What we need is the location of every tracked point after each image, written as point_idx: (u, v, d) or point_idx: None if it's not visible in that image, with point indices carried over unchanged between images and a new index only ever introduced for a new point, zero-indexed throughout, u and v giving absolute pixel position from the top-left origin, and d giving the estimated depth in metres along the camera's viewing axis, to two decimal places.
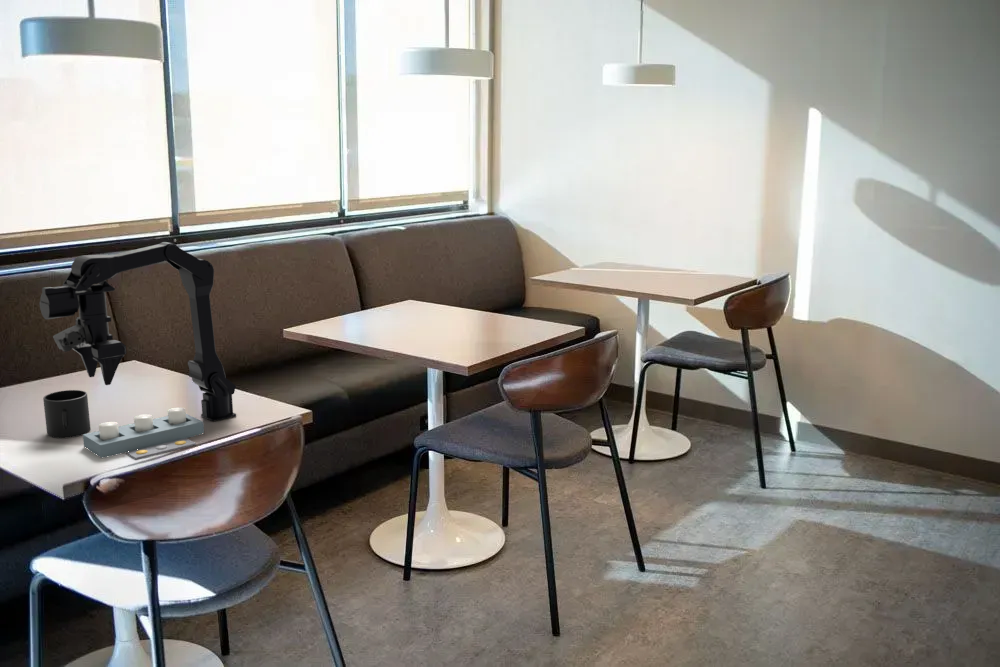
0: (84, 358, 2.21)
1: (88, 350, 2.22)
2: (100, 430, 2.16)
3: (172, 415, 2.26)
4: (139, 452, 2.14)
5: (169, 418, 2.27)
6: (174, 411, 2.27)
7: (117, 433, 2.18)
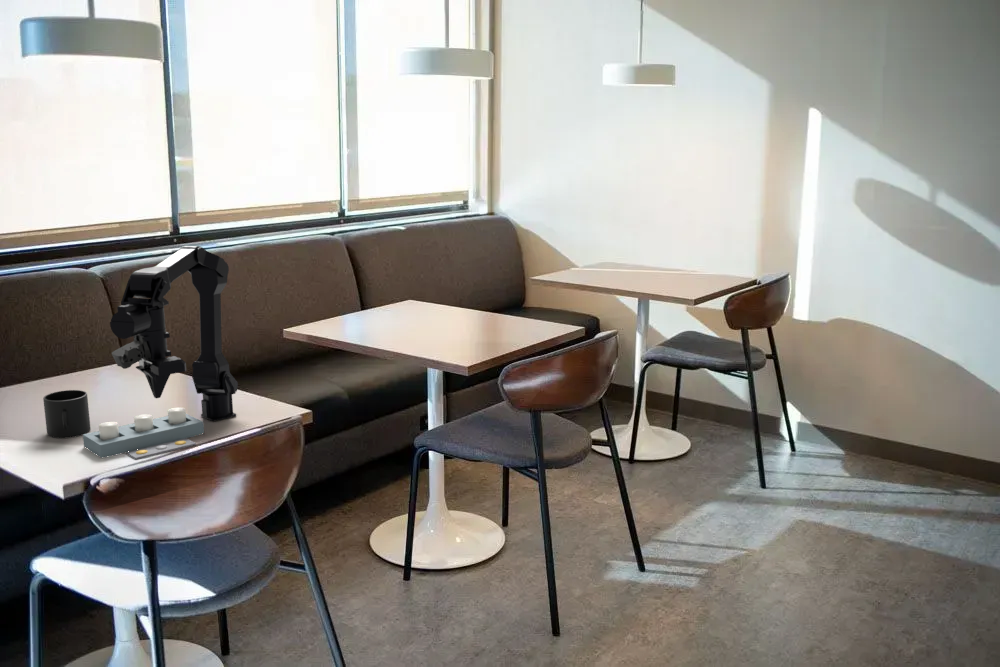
0: (149, 378, 2.14)
1: None
2: (100, 430, 2.16)
3: (172, 415, 2.26)
4: (139, 452, 2.14)
5: (169, 418, 2.27)
6: (174, 411, 2.27)
7: (117, 433, 2.18)
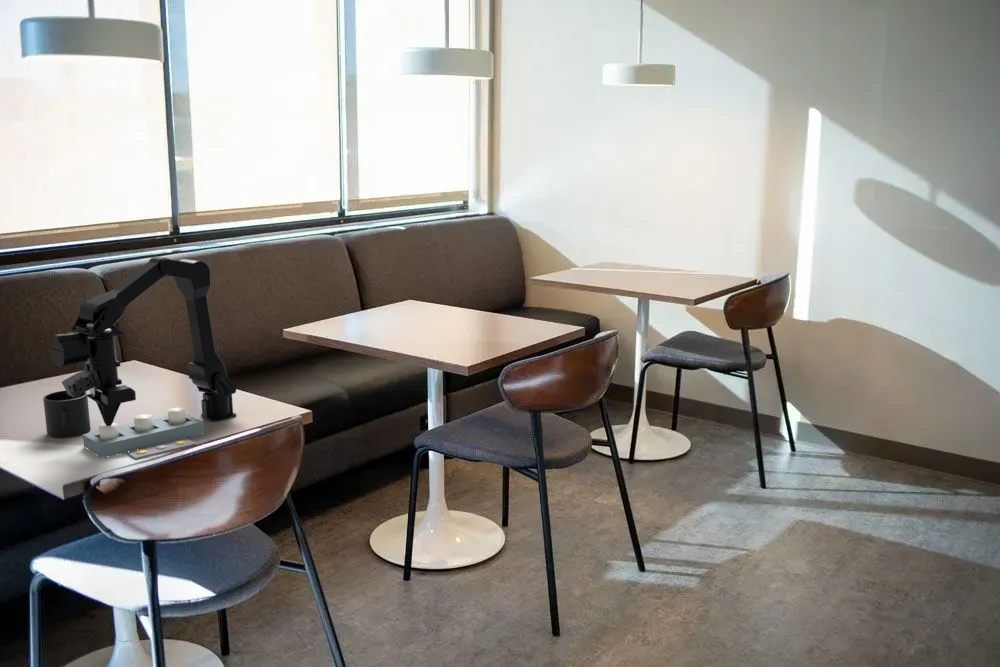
0: (101, 406, 2.16)
1: None
2: (100, 431, 2.16)
3: (172, 415, 2.26)
4: (139, 452, 2.14)
5: (169, 418, 2.27)
6: (174, 411, 2.27)
7: (117, 434, 2.18)
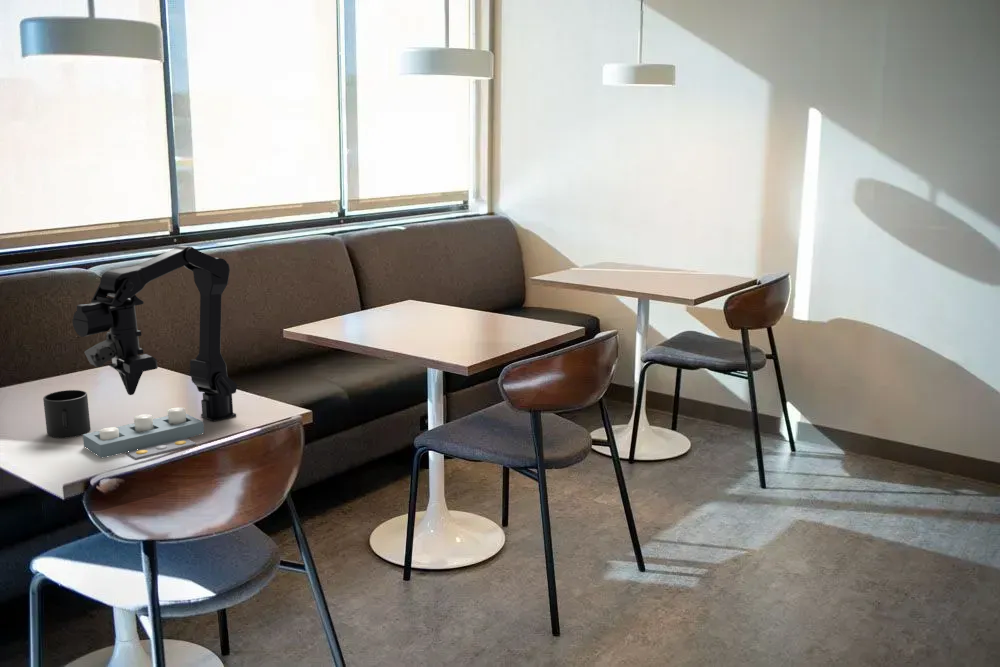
0: (123, 376, 2.19)
1: None
2: (101, 436, 2.16)
3: (172, 415, 2.26)
4: (139, 452, 2.14)
5: (169, 418, 2.27)
6: (174, 411, 2.27)
7: None
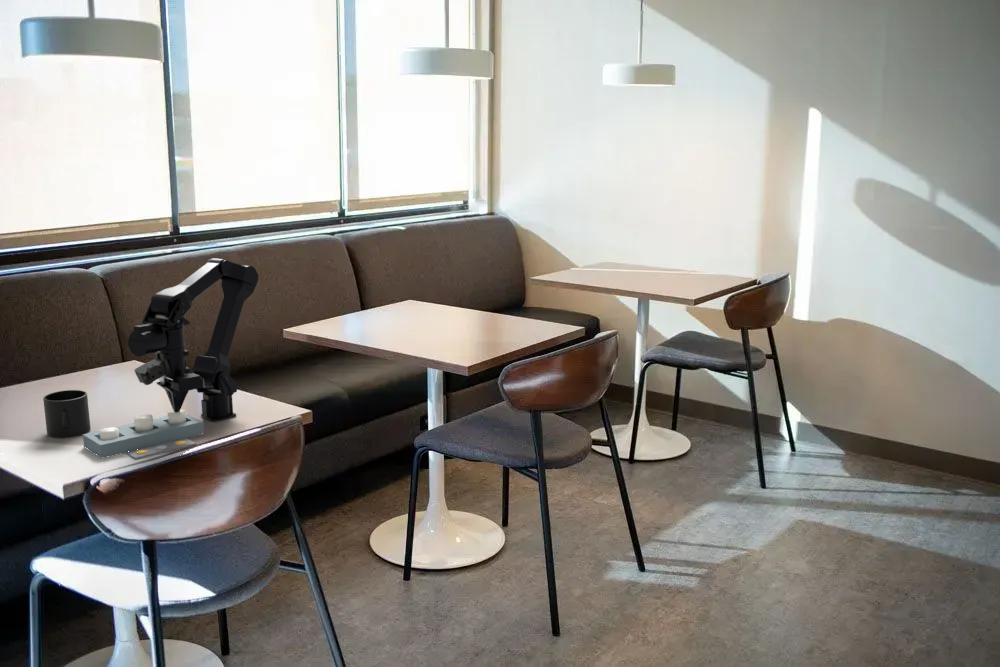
0: (169, 393, 2.27)
1: None
2: (101, 436, 2.16)
3: (172, 417, 2.27)
4: (139, 452, 2.14)
5: (169, 420, 2.27)
6: (174, 413, 2.27)
7: None
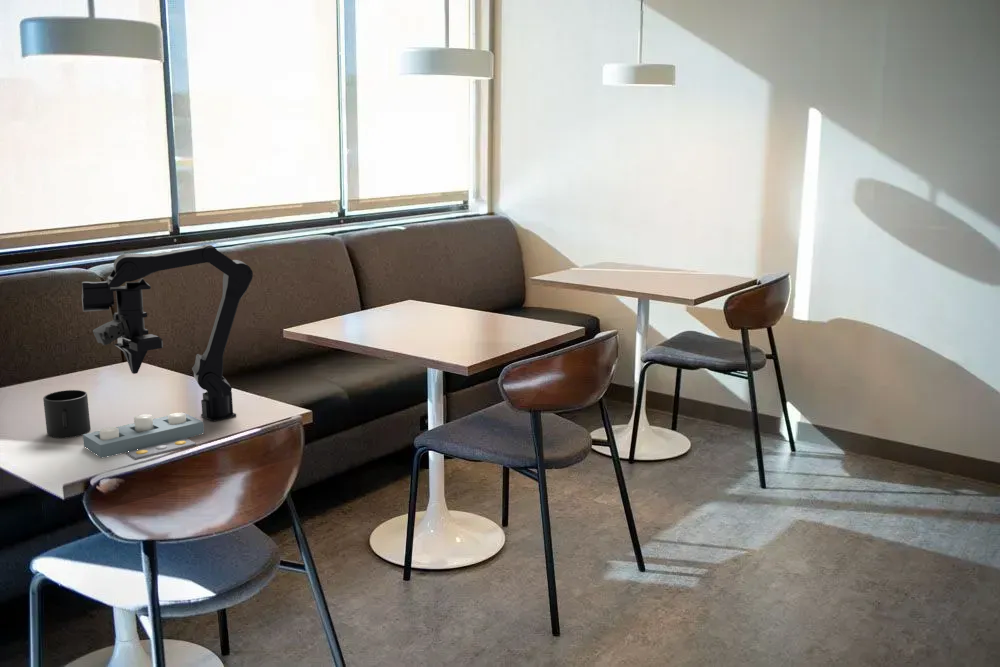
0: (128, 355, 2.30)
1: None
2: (101, 436, 2.16)
3: (172, 420, 2.27)
4: (139, 452, 2.14)
5: (169, 423, 2.27)
6: (174, 416, 2.27)
7: None
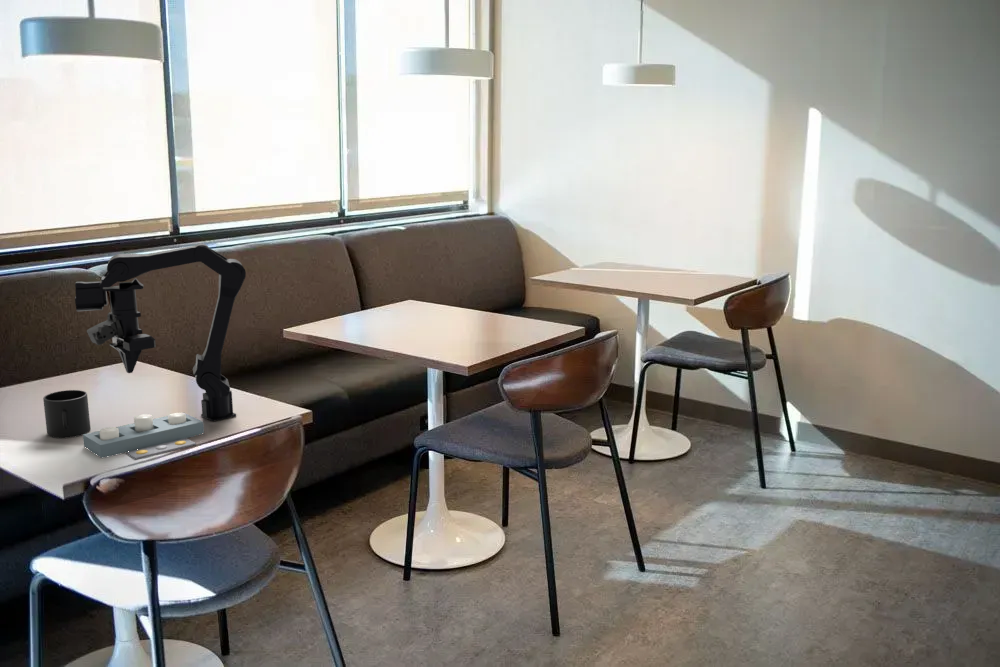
0: (122, 354, 2.31)
1: None
2: (101, 436, 2.16)
3: (172, 420, 2.27)
4: (139, 452, 2.14)
5: (169, 423, 2.27)
6: (174, 416, 2.27)
7: None
